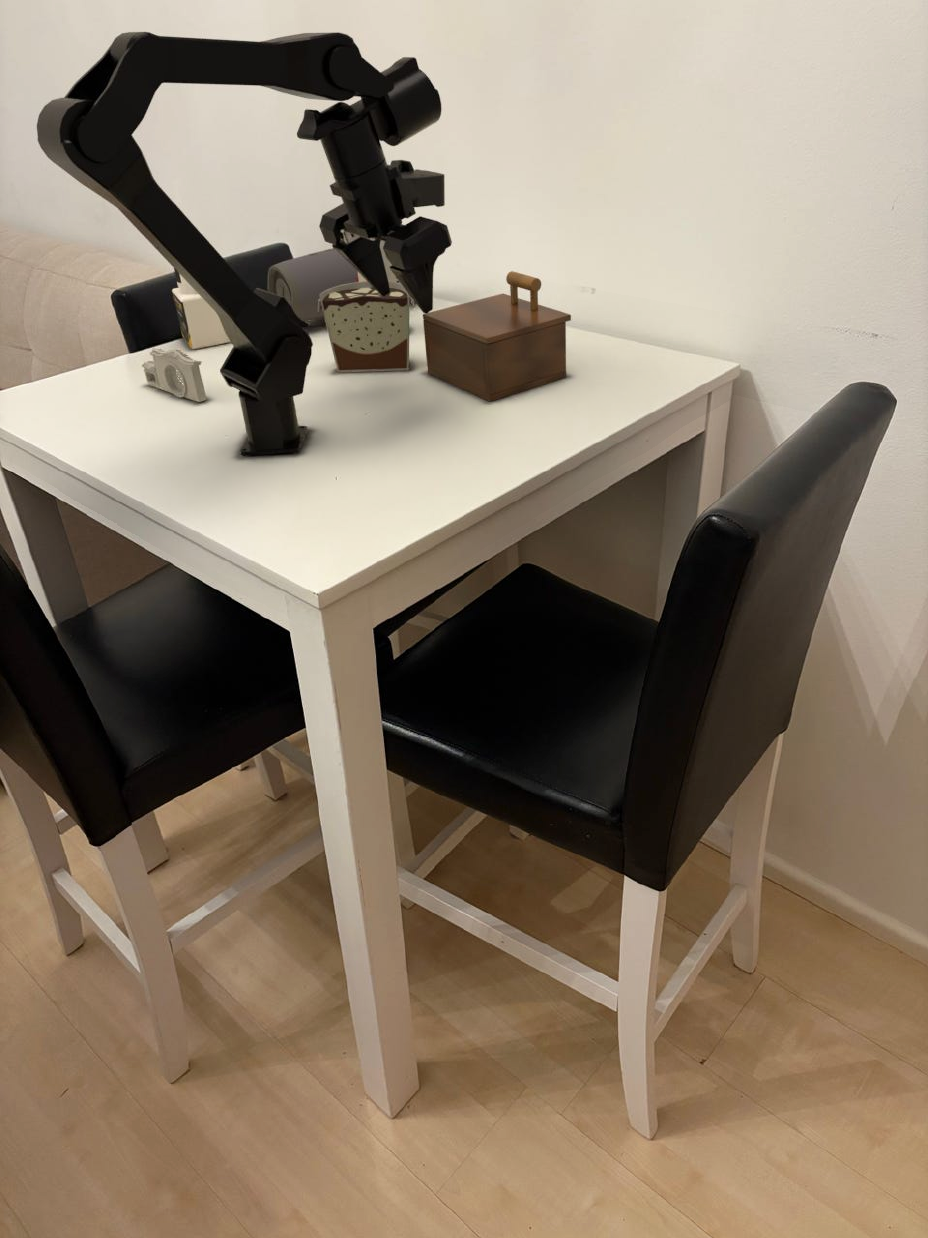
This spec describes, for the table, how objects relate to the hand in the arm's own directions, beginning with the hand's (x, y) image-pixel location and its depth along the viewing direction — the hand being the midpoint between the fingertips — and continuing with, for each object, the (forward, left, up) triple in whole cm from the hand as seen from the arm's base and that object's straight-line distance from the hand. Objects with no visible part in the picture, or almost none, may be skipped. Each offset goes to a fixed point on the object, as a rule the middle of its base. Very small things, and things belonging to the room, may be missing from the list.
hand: (406, 302), depth 111 cm
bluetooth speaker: (+36, +12, -11) cm, 39 cm away
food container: (+13, +6, -11) cm, 18 cm away
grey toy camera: (+6, +31, -11) cm, 33 cm away
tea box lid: (+6, -10, -4) cm, 12 cm away
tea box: (+5, -10, -11) cm, 16 cm away
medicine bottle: (+28, +32, -11) cm, 44 cm away
